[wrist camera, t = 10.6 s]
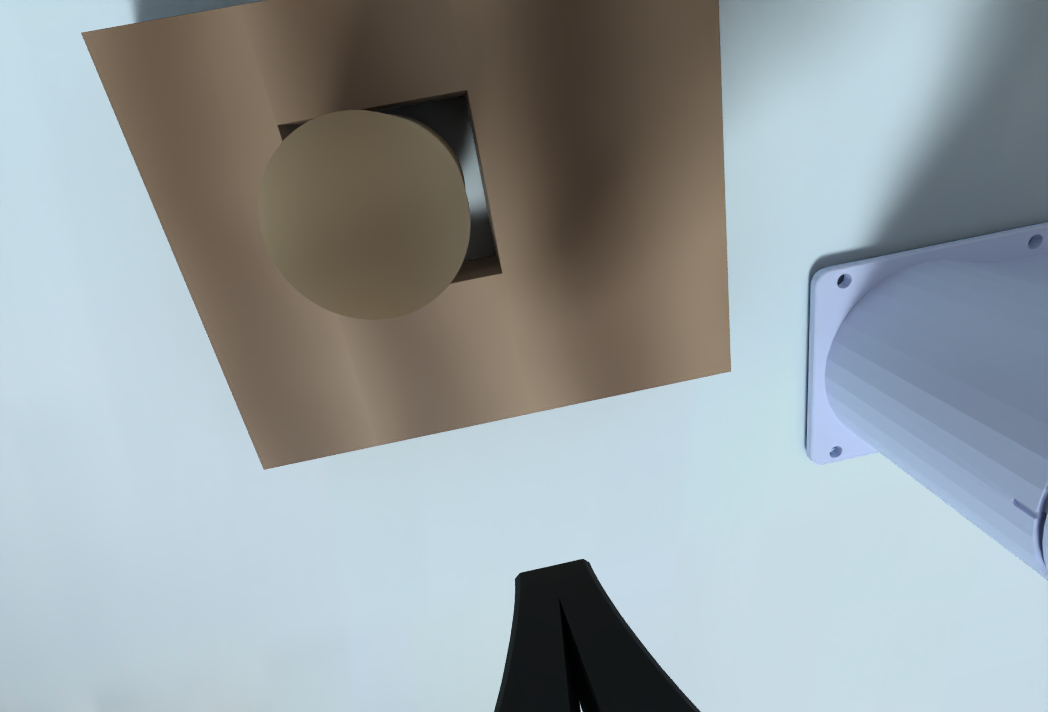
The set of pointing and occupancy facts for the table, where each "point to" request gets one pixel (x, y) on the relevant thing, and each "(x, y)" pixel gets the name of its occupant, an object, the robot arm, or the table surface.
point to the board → (509, 187)
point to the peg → (365, 213)
